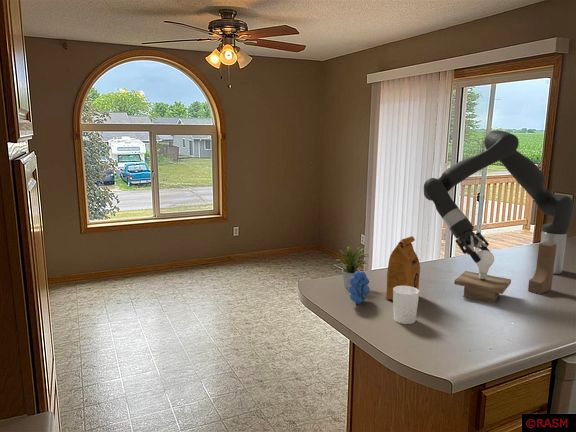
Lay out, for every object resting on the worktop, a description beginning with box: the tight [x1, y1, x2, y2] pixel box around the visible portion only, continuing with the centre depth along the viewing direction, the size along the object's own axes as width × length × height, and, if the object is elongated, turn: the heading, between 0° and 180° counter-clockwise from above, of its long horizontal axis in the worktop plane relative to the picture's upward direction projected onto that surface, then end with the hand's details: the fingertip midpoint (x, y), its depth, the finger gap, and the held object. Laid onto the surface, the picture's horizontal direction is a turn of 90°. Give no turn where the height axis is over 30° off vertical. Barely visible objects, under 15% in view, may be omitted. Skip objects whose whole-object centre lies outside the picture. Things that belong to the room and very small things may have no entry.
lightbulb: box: [475, 250, 495, 280], centre depth 156 cm, size 6×6×11 cm
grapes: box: [347, 270, 371, 305], centre depth 148 cm, size 12×7×12 cm, turn 139°
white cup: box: [392, 286, 420, 325], centre depth 136 cm, size 8×8×10 cm
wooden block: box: [527, 242, 557, 295], centre depth 162 cm, size 9×4×18 cm, turn 125°
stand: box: [453, 270, 512, 303], centre depth 157 cm, size 14×16×6 cm
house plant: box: [336, 244, 370, 289], centre depth 164 cm, size 14×14×16 cm
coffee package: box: [386, 235, 421, 301], centre depth 153 cm, size 10×12×22 cm
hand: (484, 259), depth 155 cm, fingers open, 8 cm apart
